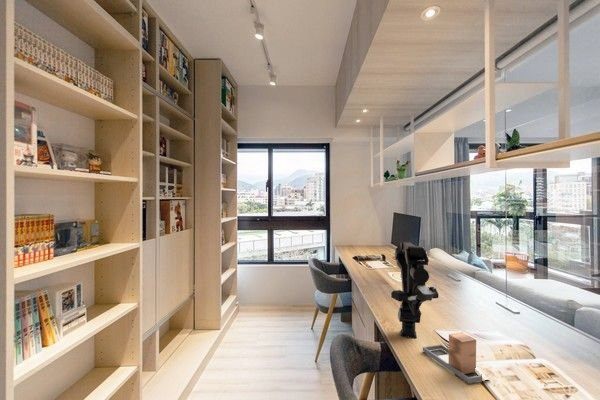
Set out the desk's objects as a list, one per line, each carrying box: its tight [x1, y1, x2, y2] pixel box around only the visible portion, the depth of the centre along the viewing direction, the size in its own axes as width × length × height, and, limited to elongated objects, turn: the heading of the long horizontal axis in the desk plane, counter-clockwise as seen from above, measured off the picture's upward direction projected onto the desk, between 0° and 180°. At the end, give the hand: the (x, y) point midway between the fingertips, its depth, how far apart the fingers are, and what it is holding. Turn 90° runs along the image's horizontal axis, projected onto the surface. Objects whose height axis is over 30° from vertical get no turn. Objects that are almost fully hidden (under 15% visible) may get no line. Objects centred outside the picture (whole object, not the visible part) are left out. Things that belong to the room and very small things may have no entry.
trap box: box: [422, 343, 483, 386], centre depth 110 cm, size 22×9×2 cm, turn 17°
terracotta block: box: [448, 332, 477, 374], centre depth 106 cm, size 6×6×11 cm
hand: (414, 315), depth 123 cm, fingers closed
